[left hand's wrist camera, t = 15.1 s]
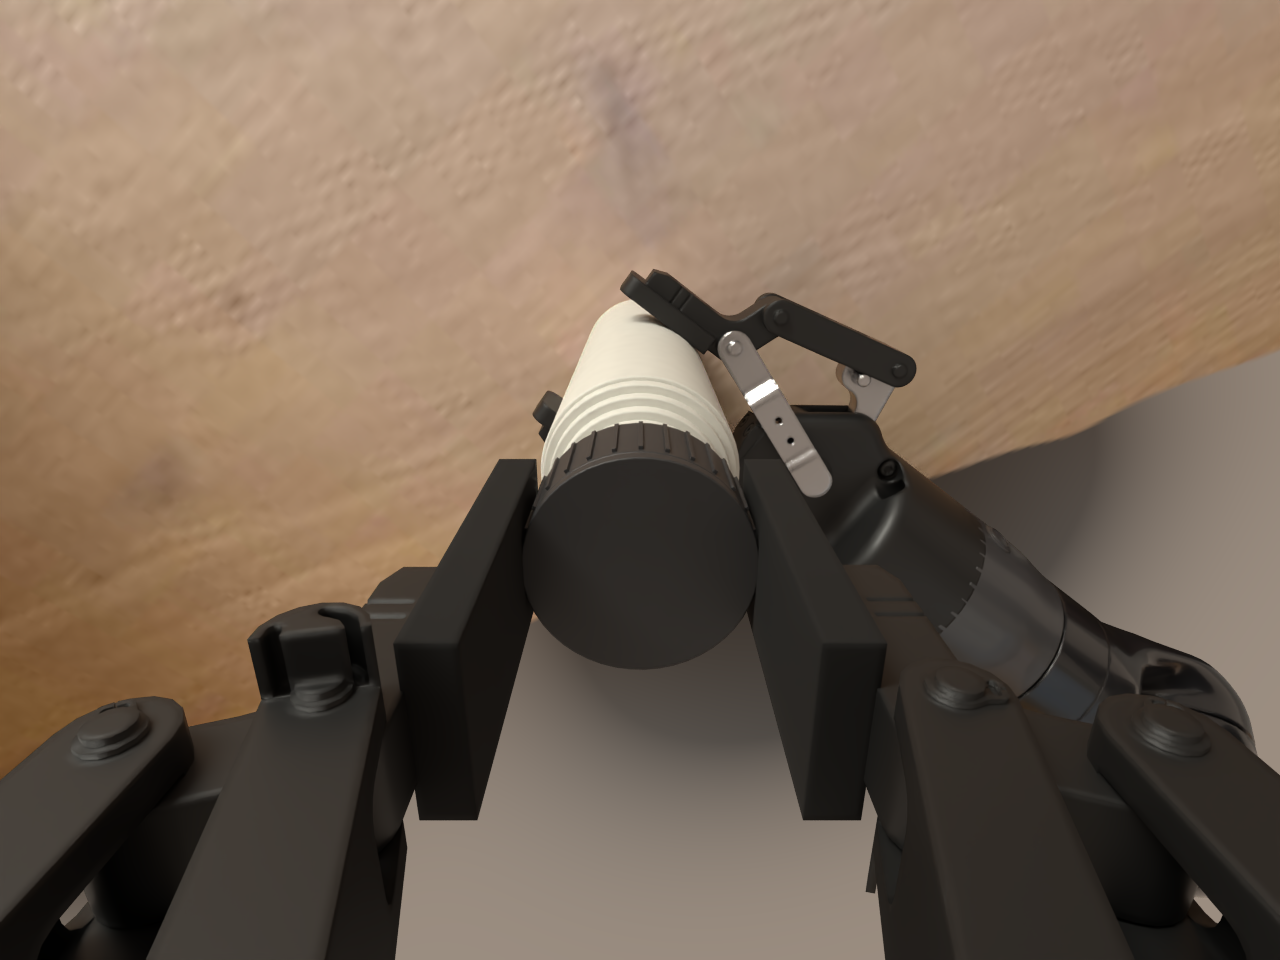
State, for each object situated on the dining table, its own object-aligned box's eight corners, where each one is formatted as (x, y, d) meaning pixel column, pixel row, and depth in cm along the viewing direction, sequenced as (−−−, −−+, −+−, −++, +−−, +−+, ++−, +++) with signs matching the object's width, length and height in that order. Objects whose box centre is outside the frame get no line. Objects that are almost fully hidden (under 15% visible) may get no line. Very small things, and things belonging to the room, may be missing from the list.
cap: (554, 397, 14) (540, 429, 12) (772, 445, 14) (794, 484, 12) (518, 591, 15) (500, 648, 13) (715, 629, 15) (726, 691, 13)
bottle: (715, 348, 32) (827, 547, 13) (644, 424, 34) (650, 708, 14) (635, 275, 31) (627, 373, 12) (565, 357, 32) (455, 567, 13)
